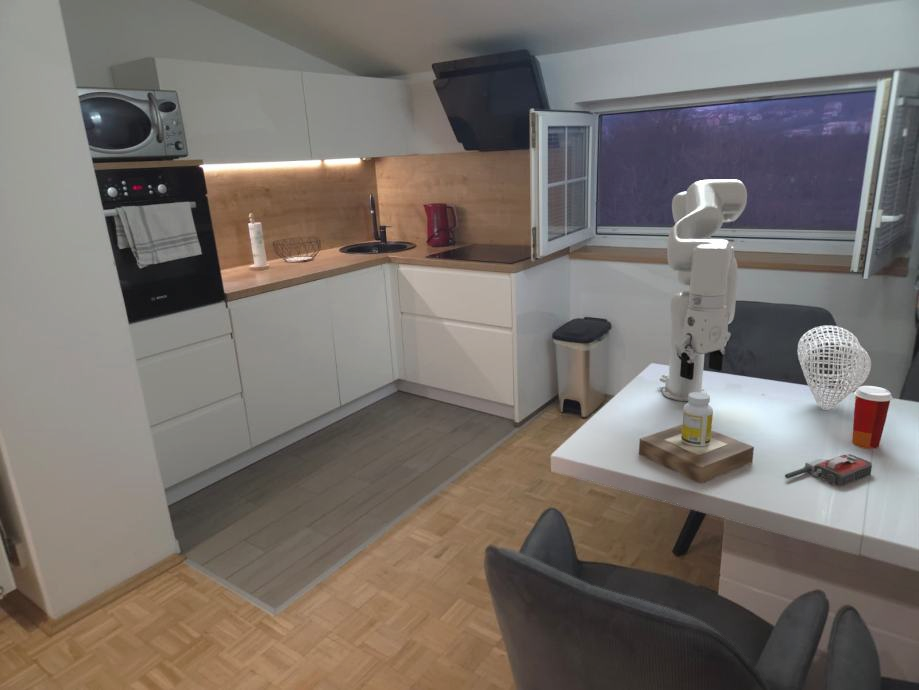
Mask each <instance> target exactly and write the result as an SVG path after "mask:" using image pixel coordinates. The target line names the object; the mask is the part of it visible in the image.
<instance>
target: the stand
mask: <svg viewBox="0 0 919 690" xmlns="http://www.w3.org/2000/svg"><path fill="white" fill-rule="evenodd" d="M681 435H682V424H680V425H677V426H674V427H671V428H668V429H665V430H662V431H659V432H655V433H653V434H649V435H647V436H643V437H640V438H639V442H638V443H639V444H638V445H639V446H638V454H639V455H640V456H643V458H644V457H645V458H646V459H648V460H651V461H653V462H655V463H656V464H659V465H662V466H663V467H665V468H667V469H670V470H671V471H673V472H675V471H676V473H677V472H678V473H677V474H679V473H680V474H679V475H681V474H682V476H684V477H685V478H688V479H690V480H692V481H694V482H696V483H698V484H703V483H706V482H708V481H711V480H713V479H715V478H718V477H720V476H723V475H726V474H728V473H731V472H733V471H735V470H737V469H740V468H742V467H743V468H744V467H745V466H747V465H749V464H752V463H753V460H754V450H755V446H752V445H750V444H748V443H746V442H743V441H740V440H737V439H735V438H732V437H730V436H727V435H725V434H722V433H720V432H717V431H714V430H712V429H711V440H710V443H709V444H708V445H705V446H692V445H688V444H686V443H684V442H683V441H682V439H681Z"/></svg>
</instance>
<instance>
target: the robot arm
mask: <svg viewBox="0 0 919 690" xmlns="http://www.w3.org/2000/svg"><path fill="white" fill-rule="evenodd" d="M747 200H748V191H747V188H746V186H745V184H744V183H743V182H742V181H741V180H739V179H732V178H731V179H703V180H698V181H695V182H693V183H692V184H691V185H689V187H688V188H687V189H686V191H681V192H678V193H677V194H675V195H674V196H673V198H672V201H671V211H672V217H673V221H674V223H675V224H674V225H673V226H672V227H671V229H670V231H669V235H668V236H667V237H668V238H667V247H666V248H667V253H666V254H667V255H666V256H667V262H668V266H669V268H670V269H671V270H673V271H674V272H677V280H678V282H679V283H680V285H683V286H685V287H687V286H688V287H689V290H684V291H679V292H676V293H675V294H674V295H672V297H671V299H670V304H669V308H670V309H669V310H670V320H671V336H670V337H671V338H670V353H669V365H668V366H669V367H668V374H666V373H663V374H662V375H661V377H660V378H659V381H660V382H661V383H664V384H665V386H664V387H663V388H662V395H663V396H665V398H668V399H672V400H674V401H680V402H689V401H688V395H689V393H692V392H701V393H705V394H708V393H707V390H705V388H702V387H703V386H702V385H703V379H704V378H703V376H704V363H705V354H709V358H708V368H709V369H711V370H713V371H717V372H720V371H722V370H723V361H724V360H723V359H724V355H725V354H726V348H727V346H728V344H729V342H728V341H729V340H730V338H731V335H732V333H731V332H730V331H728V325H729V324H731V323H732V322H733V320H734V319H735V313H736V299H737V286H738V270H739V269H738V262H737V259H736V257H735V248H734V246H733V245H732V243H731V242H730V241H729V240H727V239H721V238H720V239H719V238H712V235H714V234H716V233H718V231H719V230H720V229H721V227H722V226H723V224H724V223H731V222H735V221H736V220H737V219H739V217H740V216H741V215H742V213H743V212H744V210H745V208H746V206H747Z"/></svg>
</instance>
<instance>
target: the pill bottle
mask: <svg viewBox="0 0 919 690" xmlns="http://www.w3.org/2000/svg"><path fill="white" fill-rule="evenodd" d="M710 398H711V396H710V395H709V394H708V393H707V394H705V393H701V392H692V393H689V395H688V401H687V403H685V404H684V406H683V409H682V421H681V423H682V424H681V425H682V435H681V439H682V441H683V442H684V443H686V444H688V445H692V446H705V445H708V444H709V443H710V440H711V430H712V427H713V416H714V409H713V407H712V406H711V405H710V404H709V403H710V400H711V399H710Z"/></svg>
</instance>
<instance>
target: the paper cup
mask: <svg viewBox="0 0 919 690" xmlns="http://www.w3.org/2000/svg"><path fill="white" fill-rule="evenodd" d="M853 392H854V393H853V394H854V396H855V398H854V399H855V401H854V411H853V421H852V422H853V426H852V435H851V436H852V437H851V438H852V439H851V440H852V441H851V442H852V444H853V445H854V446H855V447H858V448H862V449H869V450H875V449H878V448H879V447H880V444H881V440H882V437H883V433H884V428H885V424H886V420H887V415H888V412H889V407H890V404H891V401H892V400H893V396H892V392H890V391H889V390H888V389H887V388H883V387H880V386H874V385H860V386H859V387H858V388H857V389H856V390H854V391H853Z"/></svg>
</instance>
